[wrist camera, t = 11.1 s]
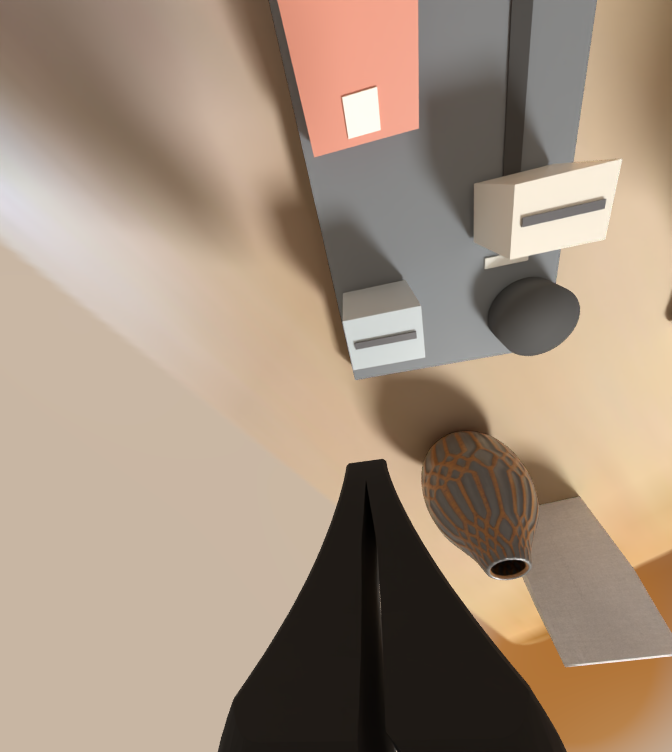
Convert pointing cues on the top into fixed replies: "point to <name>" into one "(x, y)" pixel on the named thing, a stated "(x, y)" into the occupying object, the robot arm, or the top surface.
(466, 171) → the console
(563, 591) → the grey rectangular block
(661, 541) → the top surface
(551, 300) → the button
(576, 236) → the slotted cream block
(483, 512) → the vase
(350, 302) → the slotted white box
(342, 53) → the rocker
